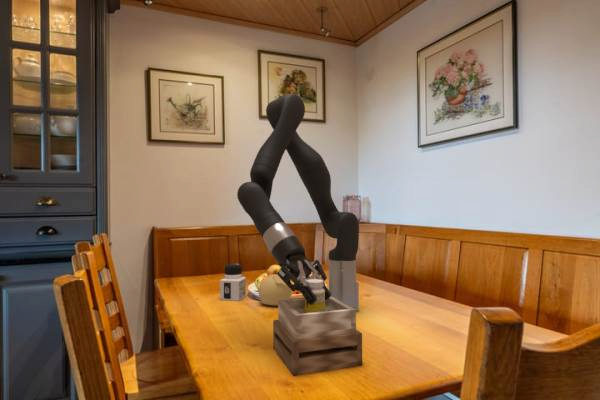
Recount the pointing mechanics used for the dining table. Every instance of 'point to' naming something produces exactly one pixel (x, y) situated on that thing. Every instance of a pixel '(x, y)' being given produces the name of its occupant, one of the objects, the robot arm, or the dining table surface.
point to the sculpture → (273, 290)
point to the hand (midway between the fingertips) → (321, 300)
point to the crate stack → (316, 337)
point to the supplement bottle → (320, 295)
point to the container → (233, 283)
